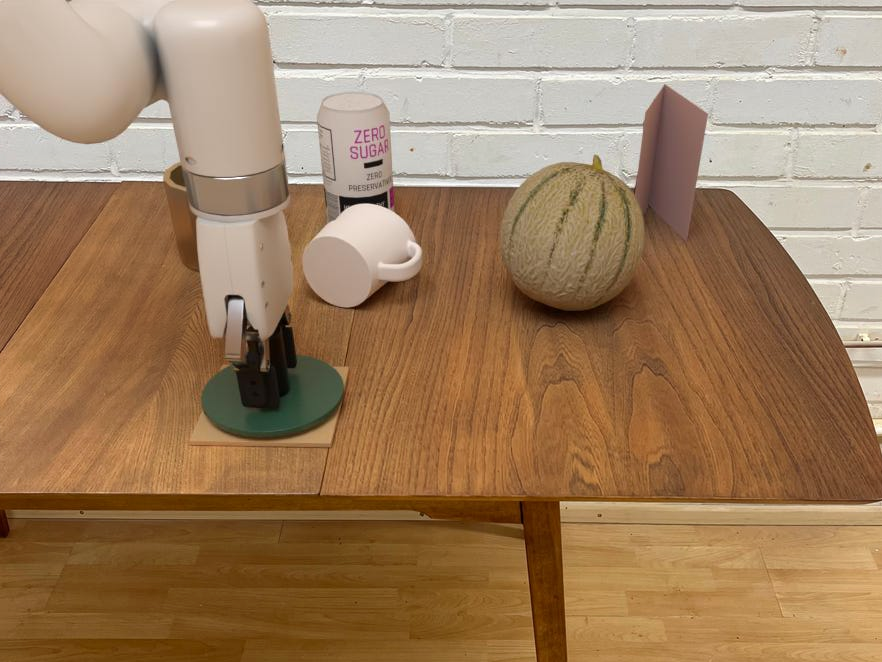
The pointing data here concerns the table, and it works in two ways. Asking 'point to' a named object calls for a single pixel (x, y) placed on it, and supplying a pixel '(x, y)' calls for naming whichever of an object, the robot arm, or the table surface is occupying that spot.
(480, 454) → the table surface
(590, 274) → the cantaloupe
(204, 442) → the cork mat
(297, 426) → the tin lid
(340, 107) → the supplement can
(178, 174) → the tin
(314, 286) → the mug
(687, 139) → the greeting card
